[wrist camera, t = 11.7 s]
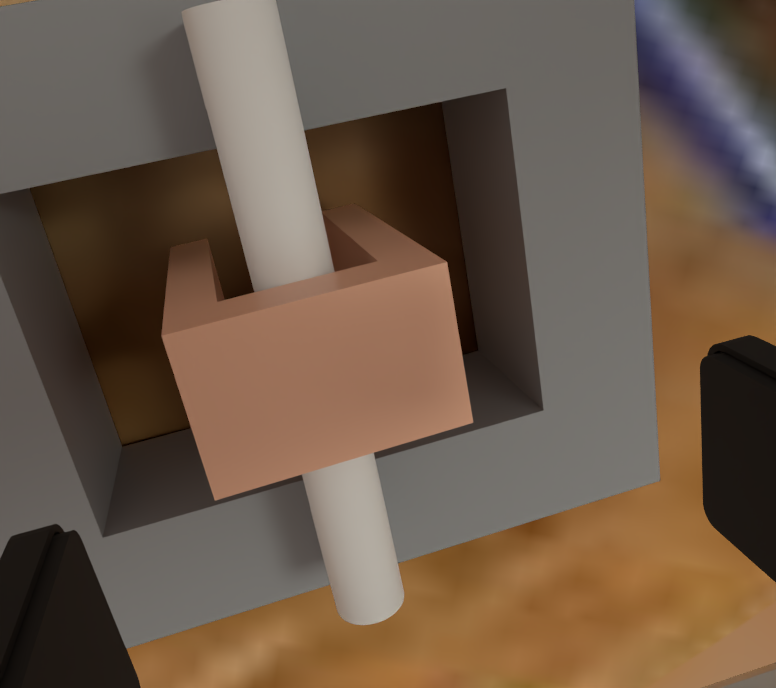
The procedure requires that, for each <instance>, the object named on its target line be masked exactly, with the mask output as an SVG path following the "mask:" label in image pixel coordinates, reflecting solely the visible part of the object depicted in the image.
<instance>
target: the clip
mask: <svg viewBox="0 0 776 688" xmlns="http://www.w3.org/2000/svg"><path fill="white" fill-rule="evenodd" d="M322 216H323V220H324V225H325V230H326V234H327V239H328V243H329V248H330V253H331V257H332V262H333V266H334V271H335V272H333V273H329V274H325V275H321V276H317V277H313V278H309V279H305V280H301V281H297V282H293V283H290V284H286V285H282V286H278V287H274V288H270V289H266V290H262V291H258V292H254V293H250V294H246V295H242V296H238V297H234V298H230V299H227V300H225V299H224V296H223V292H222V288H221V285H220V281H219V278H218V274H217V271H216V267H215V264H214V260H213V257H212V253H211V250H210V246H209V243H208V239H203V240H198V241H194V242H190V243H186V244H182V245H177V246H173V247H170V255H169V265H168V275H167V285H166V295H165V305H164V315H163V325H162V335H161V336H162V339H163V342H164V345H165V349H166V352H167V355H168V358H169V361H170V364H171V367H172V370H173V373H174V376H175V379H176V382H177V386H178V389H179V392H180V395H181V398H182V401H183V404H184V407H185V410H186V413H187V416H188V420H189V423H190V426H191V429H192V432H193V435H194V438H195V441H196V444H197V447H198V450H199V453H200V457H201V460H202V463H203V466H204V469H205V472H206V475H207V478H208V481H209V484H210V487H211V490H212V494H213V497H214V500H219V499H222V498H225V497H229V496H232V495H235V494H239V493H242V492H245V491H249V490H252V489H255V488H258V487H262V486H265V485H268V484H272V483H275V482H278V481H282V480H285V479H288V478H292V477H295V476H298V475H302V474H305V473H308V472H312V471H315V470H318V469H321V468H325V467H328V466H331V465H335V464H338V463H341V462H345V461H348V460H351V459H355V458H358V457H361V456H365V455H368V454H371V453H374V452H378V451H381V450H384V449H388V448H391V447H394V446H398V445H401V444H404V443H408V442H411V441H414V440H418V439H421V438H424V437H428V436H431V435H434V434H437V433H441V432H444V431H447V430H451V429H454V428H457V427H461V426H464V425H467V424H471V423H473V417H472V411H471V405H470V399H469V393H468V387H467V381H466V375H465V368H464V362H463V356H462V350H461V344H460V338H459V332H458V326H457V320H456V314H455V307H454V301H453V295H452V289H451V283H450V277H449V271H448V265H447V262H446V261H445V260H443V259H442V258H440V257H438V256H437V255H435V254H434V253H432V252H431V251H429V250H427V249H426V248H424V247H423V246H421V245H420V244H418V243H416V242H415V241H413V240H412V239H410V238H409V237H407V236H405V235H404V234H402V233H401V232H399V231H398V230H396V229H394V228H393V227H391V226H390V225H388V224H387V223H385V222H383V221H382V220H380V219H379V218H377V217H375V216H374V215H372V214H371V213H369V212H368V211H366V210H364V209H363V208H361V207H360V206H358V205H357V204H355V203H354V204H349V205H345V206H341V207H337V208H333V209H329V210H324V211H322Z"/></svg>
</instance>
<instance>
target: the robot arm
mask: <svg viewBox="0 0 776 688" xmlns="http://www.w3.org/2000/svg"><path fill="white" fill-rule="evenodd" d="M700 387H701V431H702V474H703V505H704V510H705V513H706V516H707V518H708V520H709V521H710V523H711V524H712V526H713V527H714V528H715V529H716V530H717V531H719V532H720V533H721V534H722V535H723V536H724V537H725V538H726V539H728V540H729V541H730V542H731V543H732V544H733V545H734V546H735V547H737V548H738V549H739V550H740V551H741V552H742V553H743V554H744V555H746V556H747V557H748V558H749V559H750V560H751V561H752V562H753V563H755V564H756V565H757V566H758V567H759V568H760V569H761V570H762V571H764V572H765V573H766V574H767V575H768V576H769V577H770V578H771V579H773V580H774V581H775V582H776V346H774V345H772V344H770V343H768V342H766V341H764V340H761V339H759V338H757V337H755V336H751V335H748V336H744V337H740V338H737V339H733V340H729V341H726V342H722V343H718V344H715V345H713V346H712V347H711V348H710V349H709V352H708V356H706V357H704V358H703V359H702V361H701V364H700ZM0 688H140V684H139V680H138V677H137V674H136V672H135V669H134V667H133V664H132V662H131V659H130V657H129V654H128V652H127V650H126V647H125V645H124V642H123V640H122V637H121V635H120V632H119V630H118V627H117V625H116V623H115V620H114V618H113V615H112V613H111V610H110V608H109V605H108V603H107V600H106V598H105V596H104V593H103V591H102V588H101V586H100V583H99V581H98V578H97V576H96V573H95V571H94V569H93V566H92V564H91V561H90V559H89V556H88V554H87V551H86V549H85V546H84V544H83V541H82V539H81V537H80V535H79V534H78V532H77V531H75V530H71V531H68V532H64V530H63V529H62V528H61V526H60V525H58V524H53V525H49V526H46V527H42V528H38V529H35V530H31V531H27V532H24V533H20V534H16V535H13V536H11V537H10V539H9V540H8V542H7V545H6V547H5V549H4V551H3V554H2V556H1V558H0ZM703 688H776V663H773V664H770V665H767V666H764V667H761V668H758V669H755V670H752V671H749V672H747V673H743V674H740V675H737V676H735V677H732V678H729V679H726V680H723V681H720V682H717V683H714V684H711V685H708V686H705V687H703Z"/></svg>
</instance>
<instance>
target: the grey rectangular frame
mask: <svg viewBox="0 0 776 688" xmlns="http://www.w3.org/2000/svg"><path fill="white" fill-rule="evenodd" d="M437 102H442V109H443V116H444V122H445V129H446V136H447V143H448V149H449V156H450V163H451V170H452V176H453V183H454V190H455V197H456V203H457V210H458V217H459V224H460V230H461V237H462V244H463V251H464V257H465V264H466V271H467V278H468V284H469V291H470V298H471V305H472V311H473V318H474V325H475V332H476V338H477V345H478V351H475V352H471V353H468V354H464V355H462V356H463V362H464V368H465V375H466V381H467V387H468V393H469V399H470V405H471V411H472V417H473V423H471V424H467V425H464V426H461V427H457V428H454V429H451V430H447V431H444V432H441V433H437V434H434V435H431V436H428V437H424V438H421V439H418V440H414V441H411V442H408V443H404V444H401V445H398V446H394V447H391V448H388V449H384V450H381V451H378V452H374V453H371V454H368V455H365V456H361V457H358V458H355V459H351V460H348V461H345V462H341V463H338V464H335V465H331V466H328V467H325V468H321V469H318V470H315V471H312V472H308V473H305V474H302V475H298V476H295V477H292V478H288V479H285V480H282V481H278V482H275V483H272V484H268V485H265V486H262V487H258V488H255V489H252V490H249V491H245V492H242V493H239V494H235V495H232V496H229V497H225V498H222V499H219V500H214V497H213V494H212V490H211V487H210V484H209V481H208V478H207V475H206V472H205V469H204V466H203V463H202V460H201V457H200V453H199V450H198V447H197V444H196V441H195V438H194V435H193V432H192V429H191V428H190V429H186V430H183V431H179V432H175V433H172V434H168V435H164V436H160V437H157V438H153V439H149V440H146V441H142V442H138V443H135V444H131V445H127V446H123V447H122V445H121V442H120V439H119V437H118V434H117V431H116V428H115V425H114V423H113V420H112V417H111V414H110V412H109V409H108V406H107V403H106V400H105V398H104V395H103V392H102V389H101V386H100V384H99V381H98V378H97V375H96V373H95V370H94V367H93V364H92V361H91V359H90V356H89V353H88V350H87V347H86V345H85V342H84V339H83V336H82V333H81V331H80V328H79V325H78V322H77V320H76V317H75V314H74V311H73V308H72V306H71V303H70V300H69V297H68V294H67V292H66V289H65V286H64V283H63V280H62V278H61V275H60V272H59V269H58V267H57V264H56V261H55V258H54V255H53V253H52V250H51V247H50V244H49V241H48V239H47V236H46V233H45V230H44V228H43V225H42V222H41V219H40V216H39V214H38V211H37V208H36V205H35V202H34V200H33V197H32V194H31V191H30V188H31V187H36V186H41V185H45V184H50V183H55V182H60V181H65V180H69V179H74V178H79V177H84V176H88V175H93V174H98V173H103V172H108V171H112V170H117V169H122V168H127V167H131V166H136V165H141V164H146V163H151V162H155V161H160V160H165V159H170V158H174V157H179V156H184V155H189V154H194V153H198V152H203V151H208V150H213V149H217V151H218V155H219V159H220V163H221V167H222V170H223V174H224V178H225V182H226V186H227V190H228V193H229V197H230V201H231V205H232V209H233V213H234V216H235V220H236V224H237V228H238V232H239V236H240V239H241V243H242V247H243V251H244V255H245V259H246V262H247V266H248V270H249V274H250V278H251V282H252V285H253V289H254V292H258V291H262V290H266V289H270V288H274V287H278V286H282V285H286V284H290V283H293V282H297V281H301V280H305V279H309V278H313V277H317V276H321V275H325V274H329V273H333V272H335V271H334V266H333V262H332V257H331V253H330V248H329V243H328V239H327V234H326V230H325V225H324V220H323V216H322V211H321V206H320V202H319V197H318V193H317V188H316V183H315V179H314V174H313V169H312V165H311V160H310V156H309V151H308V146H307V142H306V137H305V133H304V130H308V129H313V128H318V127H323V126H327V125H332V124H337V123H342V122H346V121H351V120H356V119H361V118H366V117H370V116H375V115H380V114H385V113H389V112H394V111H399V110H404V109H408V108H413V107H418V106H423V105H428V104H432V103H437ZM658 481H660V468H659V450H658V431H657V413H656V394H655V376H654V357H653V339H652V321H651V302H650V284H649V265H648V247H647V228H646V210H645V191H644V173H643V155H642V136H641V118H640V99H639V81H638V62H637V44H636V25H635V7H634V0H37V1H31V2H25V3H19V4H13V5H7V6H1V7H0V558H1V556H2V554H3V551H4V549H5V547H6V545H7V542H8V540H9V539H10V537H11V536H13V535H16V534H20V533H24V532H27V531H31V530H35V529H38V528H42V527H46V526H49V525H53V524H58V525H60V526H61V528H62V529H63V530H64V532H68V531H71V530H75V531H77V532H78V534H79V535H80V537H81V539H82V541H83V544H84V546H85V549H86V551H87V554H88V556H89V559H90V561H91V564H92V566H93V569H94V571H95V573H96V576H97V578H98V581H99V583H100V586H101V588H102V591H103V593H104V596H105V598H106V600H107V603H108V605H109V608H110V610H111V613H112V615H113V618H114V620H115V623H116V625H117V627H118V630H119V632H120V635H121V637H122V640H123V642H124V645H125V647H126V649H127V648H130V647H133V646H137V645H140V644H143V643H146V642H149V641H152V640H156V639H159V638H162V637H165V636H168V635H172V634H175V633H178V632H181V631H184V630H187V629H191V628H194V627H197V626H200V625H203V624H206V623H210V622H213V621H216V620H219V619H222V618H226V617H229V616H232V615H235V614H238V613H241V612H245V611H248V610H251V609H254V608H257V607H261V606H264V605H267V604H270V603H273V602H276V601H280V600H283V599H286V598H289V597H292V596H295V595H299V594H302V593H305V592H308V591H311V590H315V589H318V588H321V587H324V586H327V585H330V586H331V589H332V592H333V596H334V600H335V604H336V608H337V611H338V614H339V615H340V616H341V618H342V619H344V620H345V621H347V622H349V623H352V624H356V625H370V624H375V623H378V622H381V621H383V620H385V619H387V618H389V617H391V616H392V615H393V614H394V613H395V612H397V610H398V609H399V608H400V607H401V605H402V603H403V600H404V590H403V585H402V581H401V576H400V571H399V567H398V563H400V562H403V561H407V560H410V559H413V558H416V557H419V556H423V555H426V554H429V553H432V552H435V551H438V550H442V549H445V548H448V547H451V546H454V545H457V544H461V543H464V542H467V541H470V540H473V539H477V538H480V537H483V536H486V535H489V534H492V533H496V532H499V531H502V530H505V529H508V528H511V527H515V526H518V525H521V524H524V523H527V522H531V521H534V520H537V519H540V518H543V517H546V516H550V515H553V514H556V513H559V512H562V511H566V510H569V509H572V508H575V507H578V506H581V505H585V504H588V503H591V502H594V501H597V500H600V499H604V498H607V497H610V496H613V495H616V494H620V493H623V492H626V491H629V490H632V489H635V488H639V487H642V486H645V485H648V484H651V483H654V482H658Z"/></svg>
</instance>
